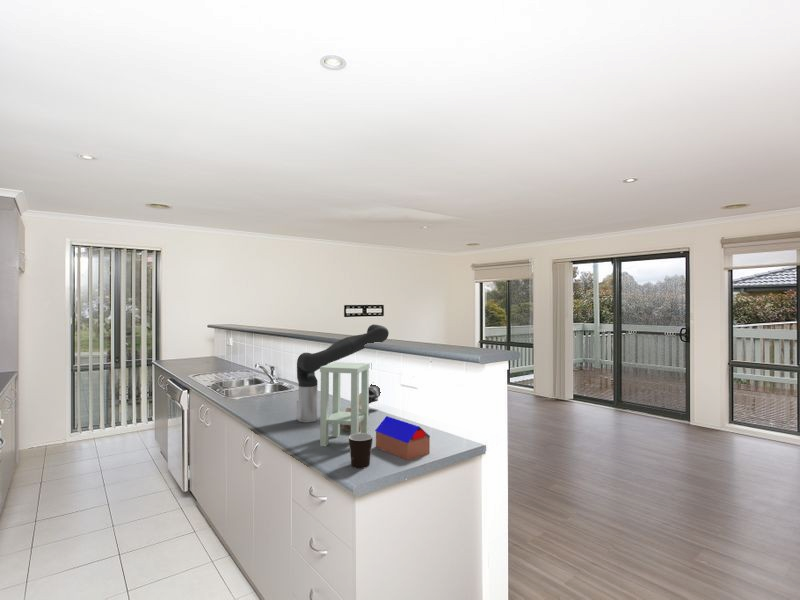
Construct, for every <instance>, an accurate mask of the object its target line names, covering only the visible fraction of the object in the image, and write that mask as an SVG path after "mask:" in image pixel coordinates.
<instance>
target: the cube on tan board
mask: <svg viewBox="0 0 800 600" xmlns="http://www.w3.org/2000/svg"><path fill="white" fill-rule="evenodd" d="M344 412H351V407H346V409H345V411H344ZM359 413H361V393H359ZM341 425H342V430H343V431H349V430H351V425H343V424H341ZM359 432H361V421H360V422H359Z"/></svg>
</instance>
